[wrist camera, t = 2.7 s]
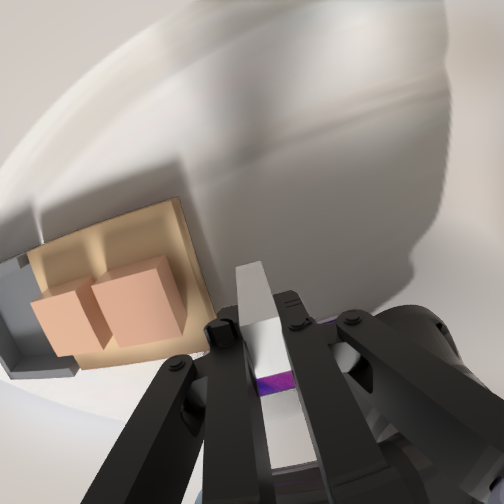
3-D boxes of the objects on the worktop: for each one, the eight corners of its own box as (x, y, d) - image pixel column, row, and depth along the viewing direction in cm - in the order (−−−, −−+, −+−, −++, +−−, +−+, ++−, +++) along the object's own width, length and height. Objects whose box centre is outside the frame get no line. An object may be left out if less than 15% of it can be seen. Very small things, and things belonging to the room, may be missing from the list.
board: (220, 328, 26) (219, 347, 23) (92, 353, 25) (81, 370, 23) (178, 196, 22) (170, 200, 19) (43, 243, 22) (26, 252, 19)
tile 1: (115, 330, 22) (103, 350, 19) (72, 338, 22) (57, 356, 19) (91, 275, 20) (74, 290, 17) (48, 288, 20) (30, 302, 17)
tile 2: (187, 315, 22) (182, 336, 19) (130, 327, 22) (119, 348, 19) (165, 254, 20) (156, 268, 17) (106, 270, 20) (90, 285, 17)
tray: (88, 353, 25) (74, 376, 22) (25, 361, 25) (10, 379, 22) (40, 245, 22) (16, 257, 18) (-17, 270, 22) (-38, 283, 18)
